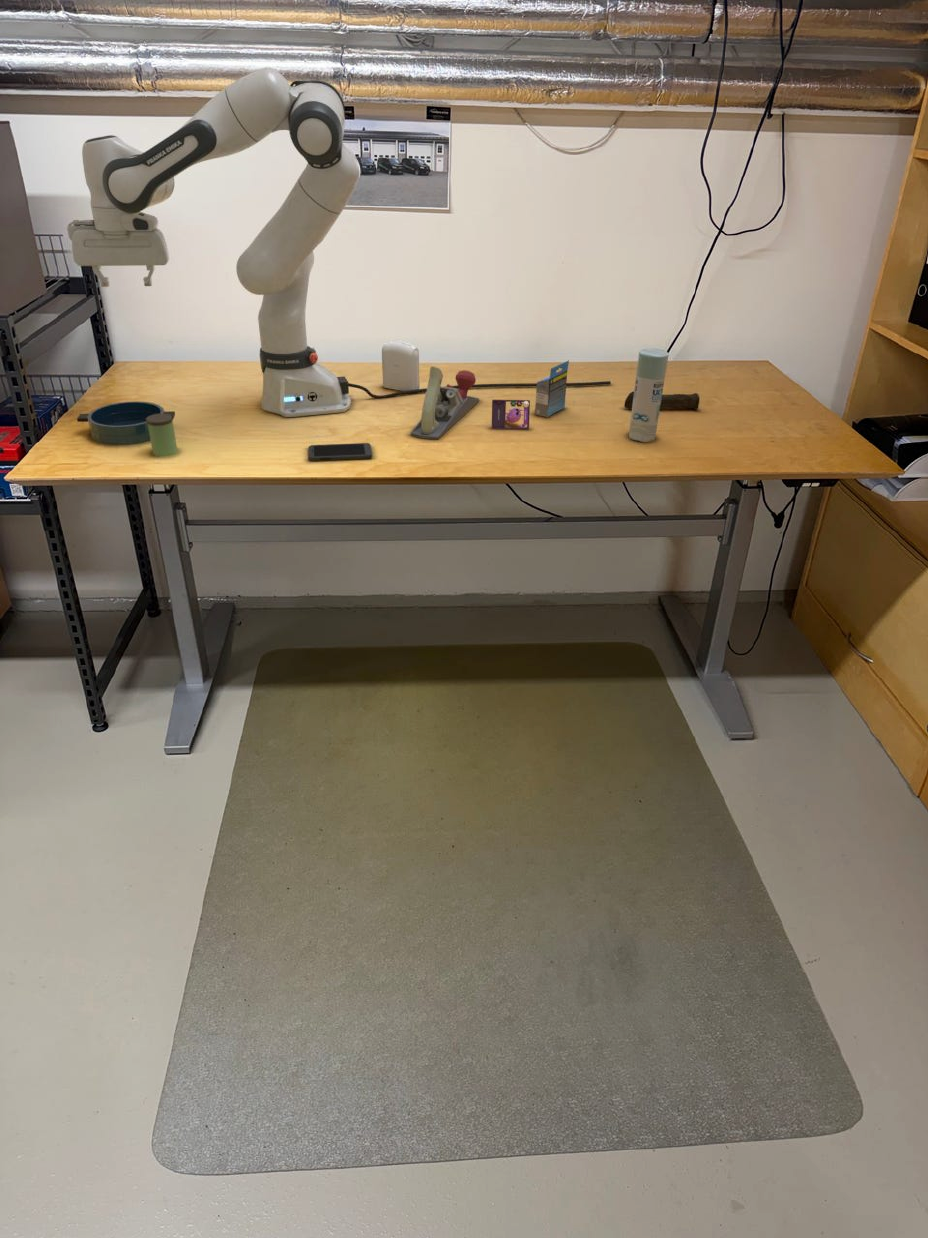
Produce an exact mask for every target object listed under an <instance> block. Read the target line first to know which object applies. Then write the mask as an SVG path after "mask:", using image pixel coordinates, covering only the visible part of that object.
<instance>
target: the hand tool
mask: <svg viewBox="0 0 928 1238" xmlns="http://www.w3.org/2000/svg"><path fill="white" fill-rule="evenodd" d="M633 397H634V390H633V391H631V392H630V393H628V395H627V397H626V398H625V400H624V406H623V407H624V408H625V409H629V410H632V405H633ZM699 405H700V395H699V393H697V392H694V393H690V394H686V393H673V394H662V398H661V405H660V409H693V410H695V411H697V410H698V409H699Z"/></svg>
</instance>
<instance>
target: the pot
mask: <svg viewBox="0 0 928 1238" xmlns="http://www.w3.org/2000/svg"><path fill="white" fill-rule="evenodd" d="M165 412H166V411H165V409H164V407H163V406H161V405H160V404H157V403H154V402H149V401H140V400H139V401H136V400H135V401H134V400H133V401H131V400H130V401H122V402H121V401H120V402H114V403H109V404H105V405H102V406H99V407H97V408H95V409H93V410H91V411H90V412H89V413H88V414H89V415H88V416H87V418H88V427H89V431H90V436H91V439H93V441H95V442H97V443H100V444H104V445H109V446H131V445H140V444H144V443H147V442H151V440H150V435H149V429H148V424H147V421H146V418H147V417H148V416H151V415H154V414H164V413H165Z"/></svg>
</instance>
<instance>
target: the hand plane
mask: <svg viewBox="0 0 928 1238" xmlns="http://www.w3.org/2000/svg"><path fill="white" fill-rule="evenodd" d="M443 378H444V374H443V372H442V370H441V368H440V367H437V366H430V368H429V378H428V382H427V386H426V387H427V391H426V392H425V395H424V400H423V403H422V408H421V418H420V420H419V421H418V422H417V424H416V425H415V427H414V428H413V429H412V430H411V431H410V435H411V436H412V437H416V438H419V439H425V440H439V439H440V438H441V437H443V436H444V434H446V433H447V432H448V431H450V430H451V428H452V427H453V426H454V425H455V424H456V423H458V421H460V420H461V419H462V418H463V417H464V416H465V415H466V414H467V413H468V412H469V411H470V410H472V408H474V407H475V406H476V405H477V404H478V403H479V402H480V398H479V397H476V396H475V397H474V396H470V395H468V393H469V392H468V391H469V390H470V389H472V388H471V387H472V386H473V385H474V384H476V380H477V379H476V376H475V373H474V372H472V371H469V370H459V371H458V372H457V373H456V374H455V382H456V384H457V385H458V387H459V389H456V388H454V387H452V386H453V385H451V384H447V383H446V386H447V387H445V386H442V382H443Z"/></svg>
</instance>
